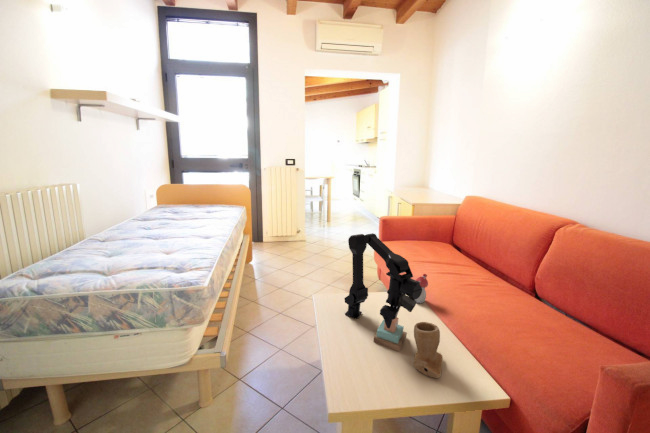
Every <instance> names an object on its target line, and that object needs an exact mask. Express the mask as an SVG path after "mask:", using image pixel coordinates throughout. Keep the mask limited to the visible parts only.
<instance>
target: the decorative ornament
mask: <svg viewBox="0 0 650 433" xmlns="http://www.w3.org/2000/svg"><path fill="white" fill-rule="evenodd" d="M427 277H428V275H427V274H426V273H423V274H422V276H418V277H416V278H415V280H416V281H419V282H420V285H421V287H422V293H421V295H420V297H419V298H418V299H415V300H416V302H417V303H416V304H422V303H424V302H425V301H426V299H427V291H426V289H425V288H427V287H428V286H429V282H428V279H427Z"/></svg>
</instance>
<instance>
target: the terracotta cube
mask: <svg viewBox="0 0 650 433" xmlns="http://www.w3.org/2000/svg"><path fill="white" fill-rule="evenodd" d="M398 323H399V317H398V316H397V317H396V319H393V320H392V323H391V326H390V328H387V326H386V323H385V324H384V329H385V330H388V331H391V332H393V333H395V331H396V329H397V327H398V325H399V324H398Z"/></svg>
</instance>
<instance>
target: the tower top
mask: <svg viewBox="0 0 650 433" xmlns="http://www.w3.org/2000/svg"><path fill="white" fill-rule="evenodd" d="M384 324H385V321H384V319H382V322H381V323H380V325H379V326H378V328H377V330H376V333H377V335H376V334H375V335H376V337H379V338H382V339H385V340H388V341H391V342H394V343H397V344H398V342H399V340H400V338H401V336H402V334H403V331H404V326H403V325H400V324H398V327H397V329H396V331H395V333H393V332H391V331H388V330H385V329H384Z"/></svg>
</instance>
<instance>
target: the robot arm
mask: <svg viewBox="0 0 650 433" xmlns="http://www.w3.org/2000/svg"><path fill="white" fill-rule="evenodd" d="M347 242H348V248H349V250H350V252H351V254H352V283H351V285H350V288H349V290H348V291H349V292H348V295H346V296H345V297H344V303H345V304H347V311H346V312H345V313H344V314H345V316H348V317H351V318H354V319H359V317H360V316H361V315H362V314H363V312H362V311H361V304H362V303H365V302H366V300H367V299H368V296H369V288H368V287H366V285H365V284H364V254H365V251H366V249H367V246H370V247H371V249H373V251H375V252H376V254H378V256H379V257H380V258H381V259H382V260H384V262H385V267H386V268H387V269H388V272H386V273H385V275H386V276H388V277H390V278H389V285H388V290H387V291H386V293H387V299H386V300H385V304H384V305H383V306H382V307H381V308H380V310H379V315H380V316H382V318H383V320H384V321H385V323H386V326H387V328H390V326H391V323H392V320H393V319H396V317H397V318H398V314H399V312H400V308H401V307H402V308H404V309H405V310H407V311H408V312H409V313H412V311H413V310H414V308H415V307H416V305H417V304H418V303H417V302H416V300H415V299H418V298H419V297H420V295H421V293H422V287H421V285H420V282H419V281H416V279H413V278H414V275H413V272H412V269H411V267H410V263H409V261H408V260H407V259H406V258H404V257H403V256H402V255H400V254H397V253H395V252H394V251H392V250H391V249H390V248H389V247H388V246H387V245H386V244H385V243H384V242H383V241H382V240H381V239H380V238H379V237H378V236H377V234H376V233H374V232H373V233H366V234H363V233H359V234H353V235H350V236H349V237H348V240H347ZM386 303H387V304H388V305H387V304H386Z"/></svg>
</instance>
